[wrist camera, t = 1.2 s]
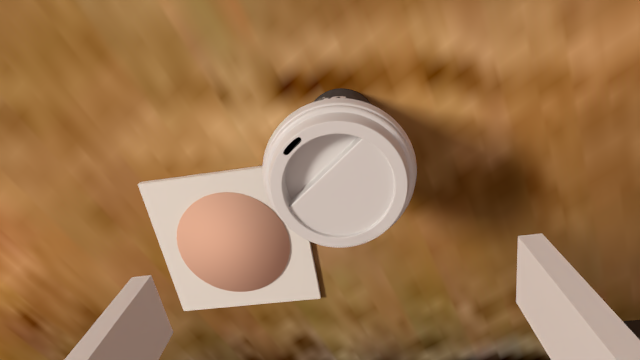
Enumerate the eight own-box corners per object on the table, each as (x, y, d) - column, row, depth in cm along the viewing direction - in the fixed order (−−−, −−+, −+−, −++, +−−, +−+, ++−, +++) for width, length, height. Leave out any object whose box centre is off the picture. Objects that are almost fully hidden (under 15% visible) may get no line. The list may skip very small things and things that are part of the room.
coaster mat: (294, 161, 38) (293, 164, 37) (320, 294, 44) (320, 299, 43) (140, 182, 40) (136, 185, 39) (185, 307, 46) (183, 312, 45)
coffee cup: (370, 52, 34) (388, 76, 20) (407, 150, 37) (444, 229, 23) (272, 96, 36) (225, 145, 22) (315, 185, 39) (298, 278, 25)
